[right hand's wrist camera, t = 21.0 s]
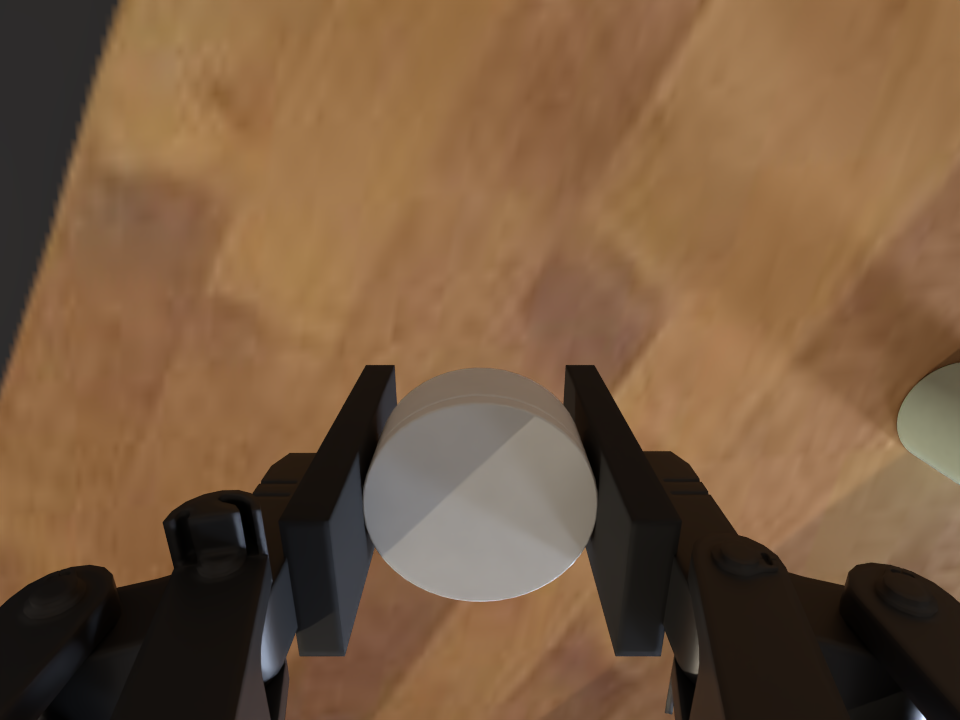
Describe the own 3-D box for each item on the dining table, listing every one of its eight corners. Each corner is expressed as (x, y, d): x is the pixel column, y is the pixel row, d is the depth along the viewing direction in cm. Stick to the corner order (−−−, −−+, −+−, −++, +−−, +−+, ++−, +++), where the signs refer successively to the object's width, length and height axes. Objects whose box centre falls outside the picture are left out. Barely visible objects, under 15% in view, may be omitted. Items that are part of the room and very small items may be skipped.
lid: (485, 575, 13) (486, 636, 11) (337, 466, 12) (314, 516, 10) (624, 456, 12) (647, 504, 10) (474, 323, 11) (472, 352, 9)
